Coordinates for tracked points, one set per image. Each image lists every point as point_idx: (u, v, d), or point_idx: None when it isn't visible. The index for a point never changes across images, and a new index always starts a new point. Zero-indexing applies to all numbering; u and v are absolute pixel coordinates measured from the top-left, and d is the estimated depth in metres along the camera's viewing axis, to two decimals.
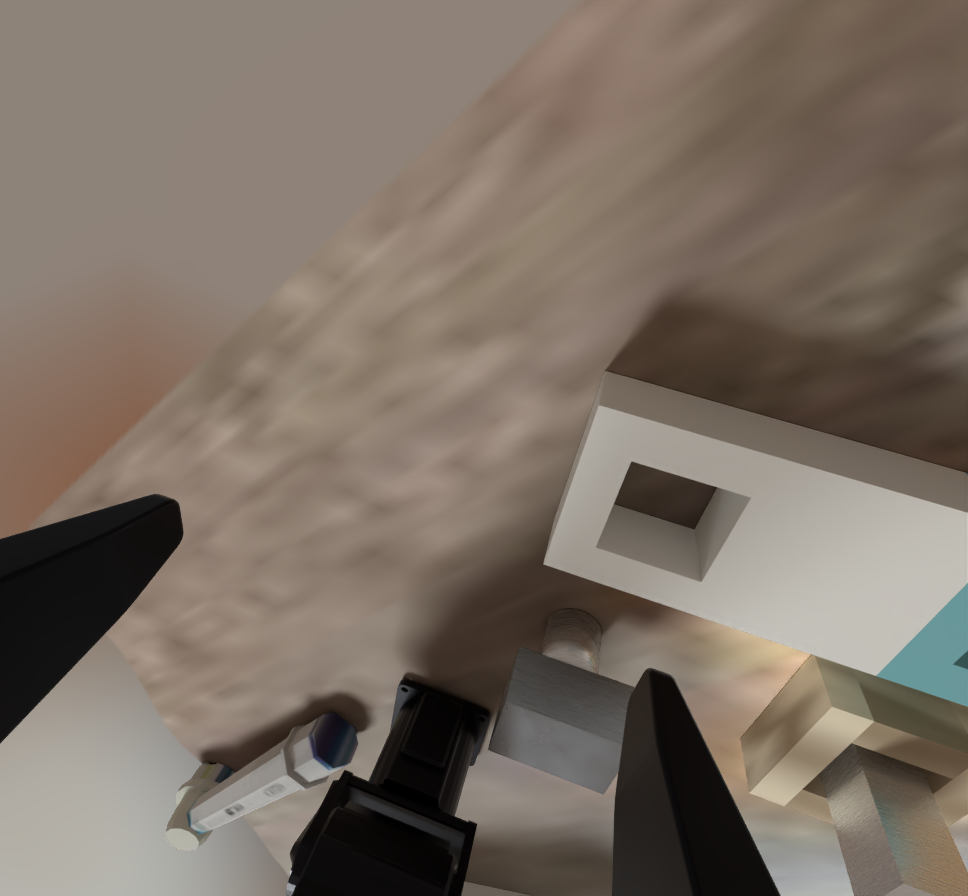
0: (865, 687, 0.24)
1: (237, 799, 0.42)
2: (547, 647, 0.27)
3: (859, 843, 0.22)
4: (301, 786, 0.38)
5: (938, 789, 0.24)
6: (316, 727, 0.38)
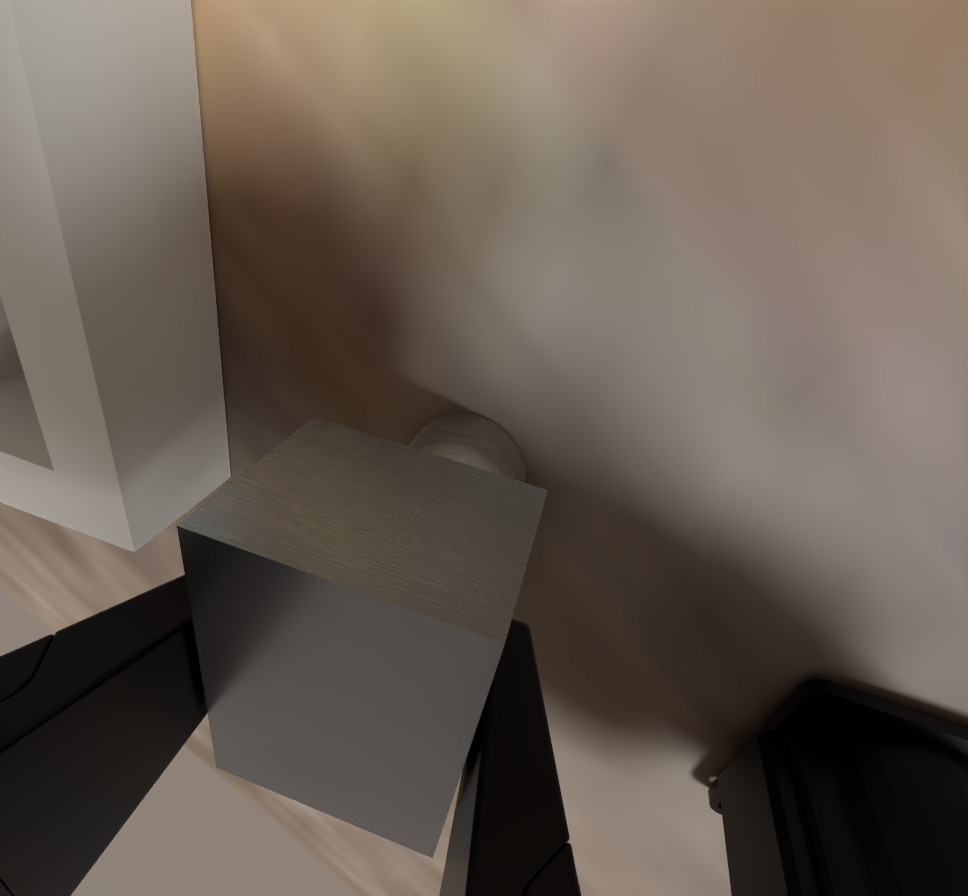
0: None
1: None
2: None
3: None
4: None
5: None
6: None
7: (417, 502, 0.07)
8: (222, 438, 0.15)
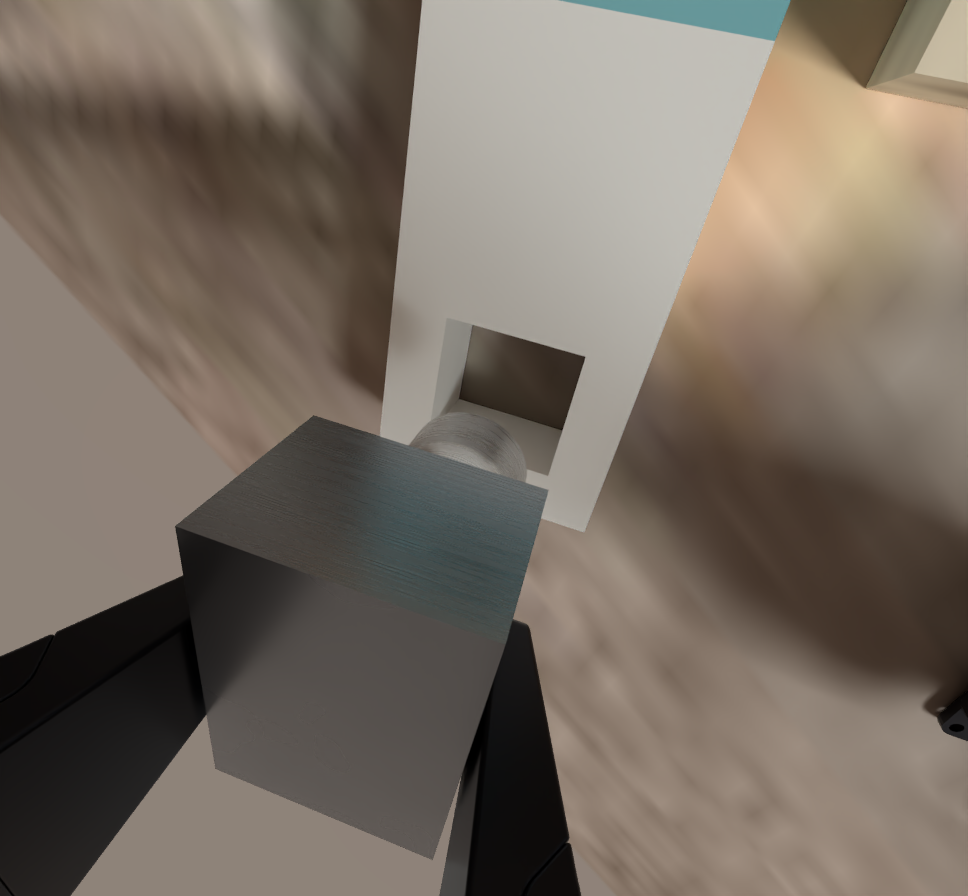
0: None
1: None
2: None
3: None
4: None
5: None
6: None
7: (417, 502, 0.07)
8: None
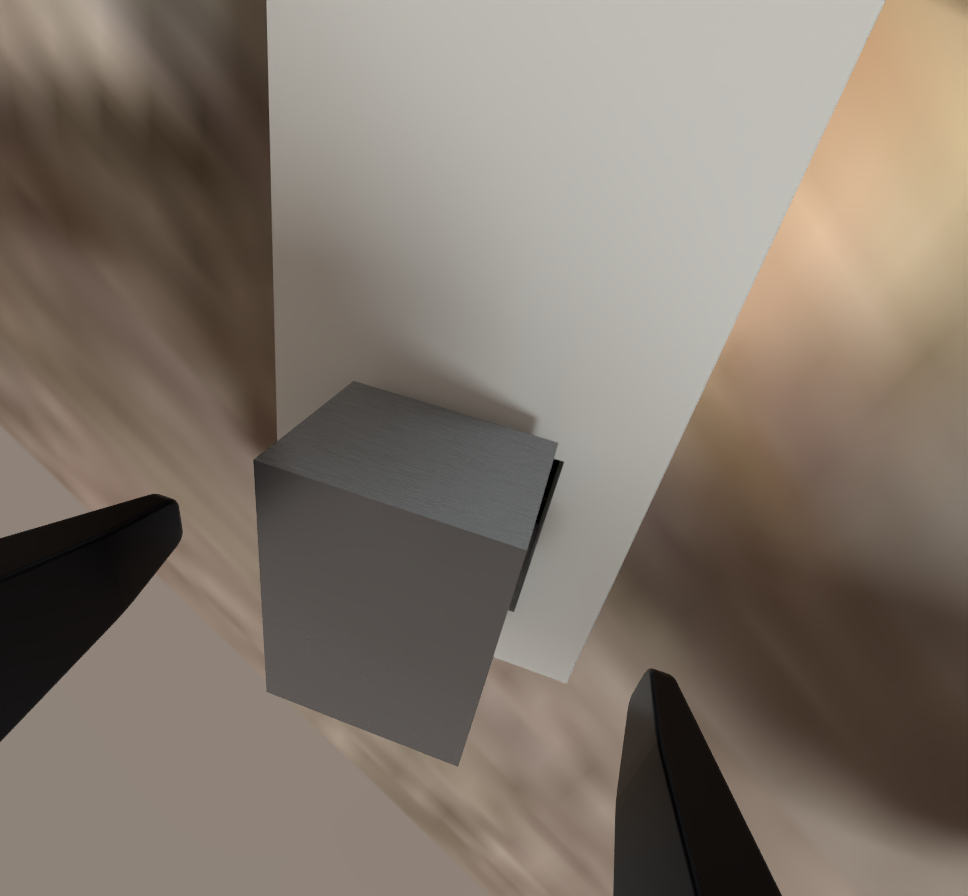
0: None
1: None
2: None
3: None
4: None
5: None
6: None
7: (448, 448, 0.08)
8: None
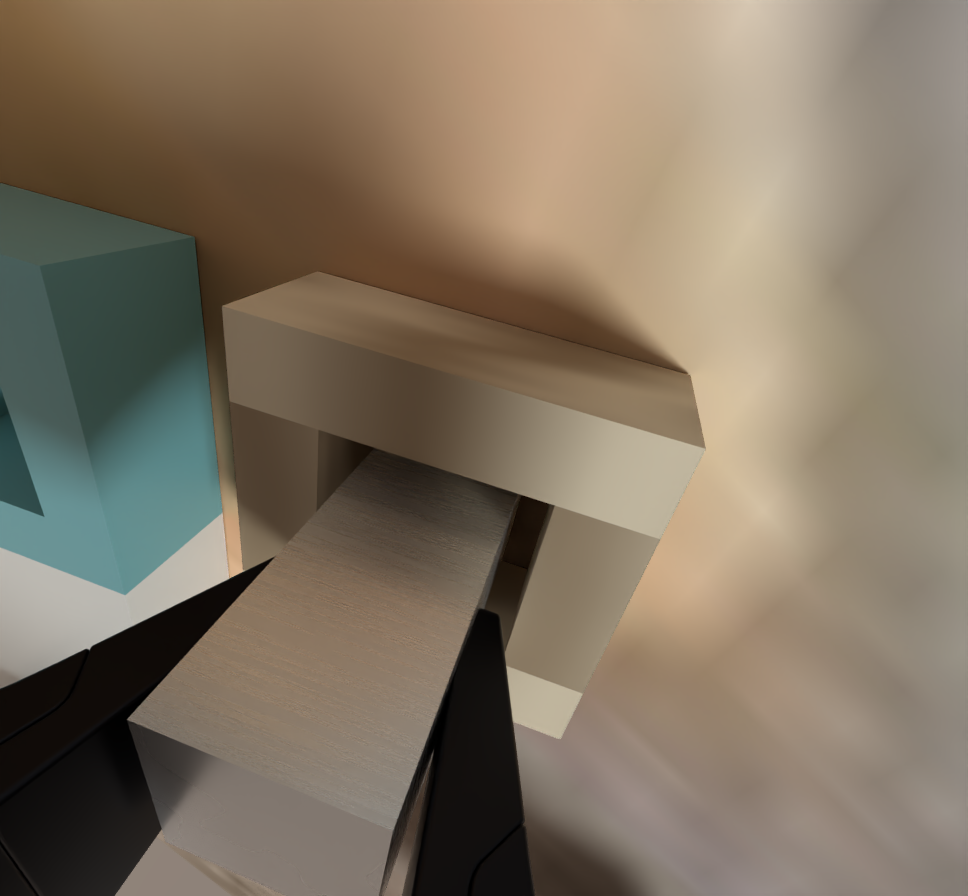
0: None
1: None
2: None
3: None
4: None
5: (370, 445, 0.09)
6: None
7: None
8: None
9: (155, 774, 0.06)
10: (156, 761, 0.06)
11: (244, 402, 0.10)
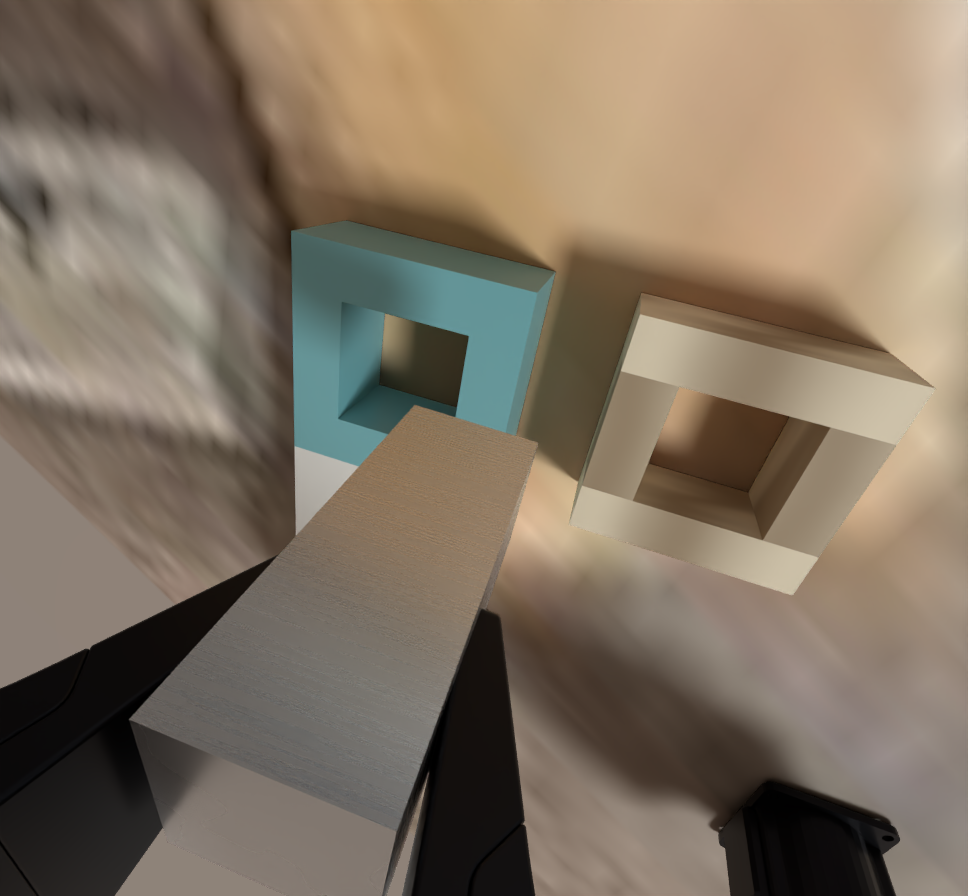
0: (588, 455, 0.20)
1: None
2: None
3: None
4: None
5: (712, 395, 0.16)
6: None
7: None
8: None
9: (157, 774, 0.06)
10: (158, 760, 0.06)
11: (627, 371, 0.16)
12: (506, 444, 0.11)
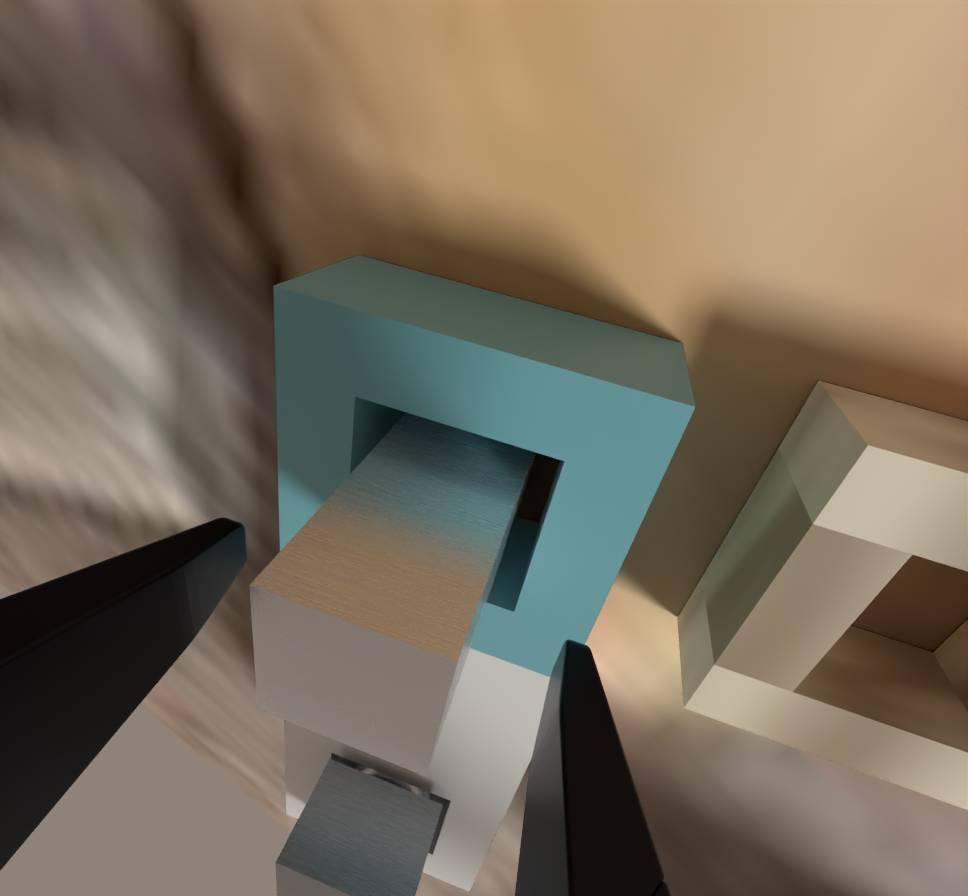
0: (709, 601, 0.14)
1: None
2: None
3: None
4: None
5: None
6: None
7: (377, 826, 0.16)
8: None
9: (263, 637, 0.08)
10: (266, 623, 0.07)
11: (822, 523, 0.10)
12: None
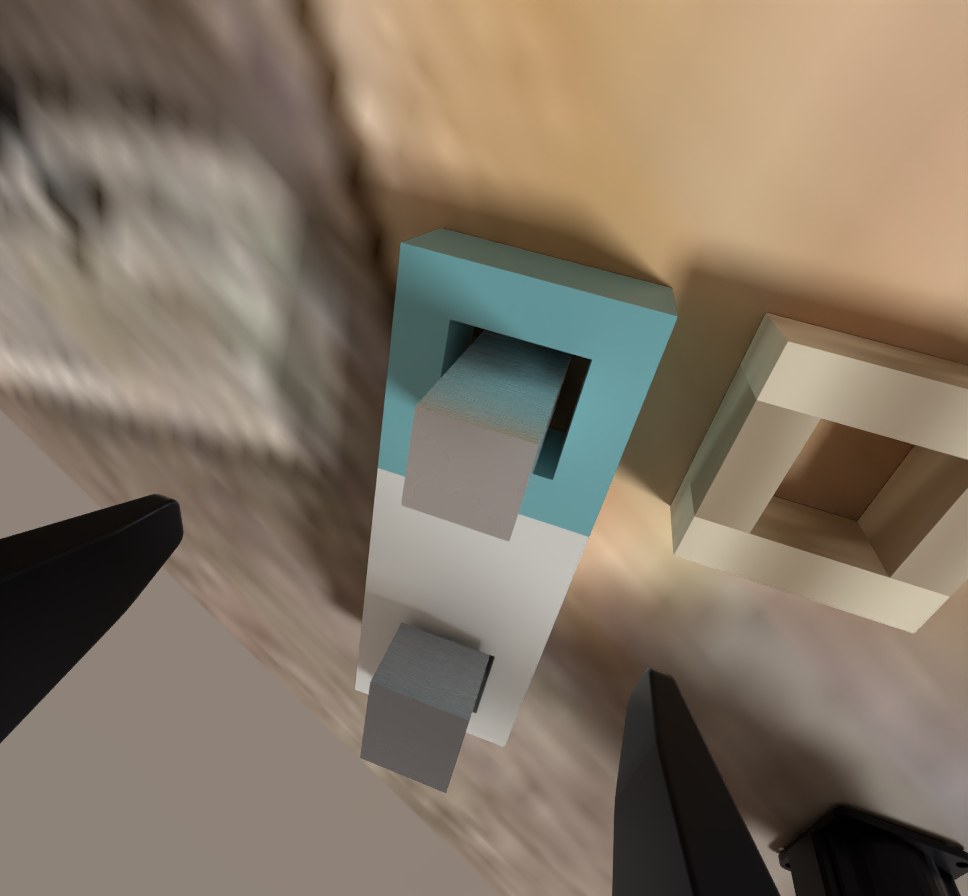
0: (693, 482, 0.19)
1: None
2: None
3: None
4: None
5: (857, 428, 0.15)
6: None
7: (442, 665, 0.21)
8: None
9: (416, 444, 0.13)
10: (420, 433, 0.12)
11: (763, 400, 0.15)
12: None
